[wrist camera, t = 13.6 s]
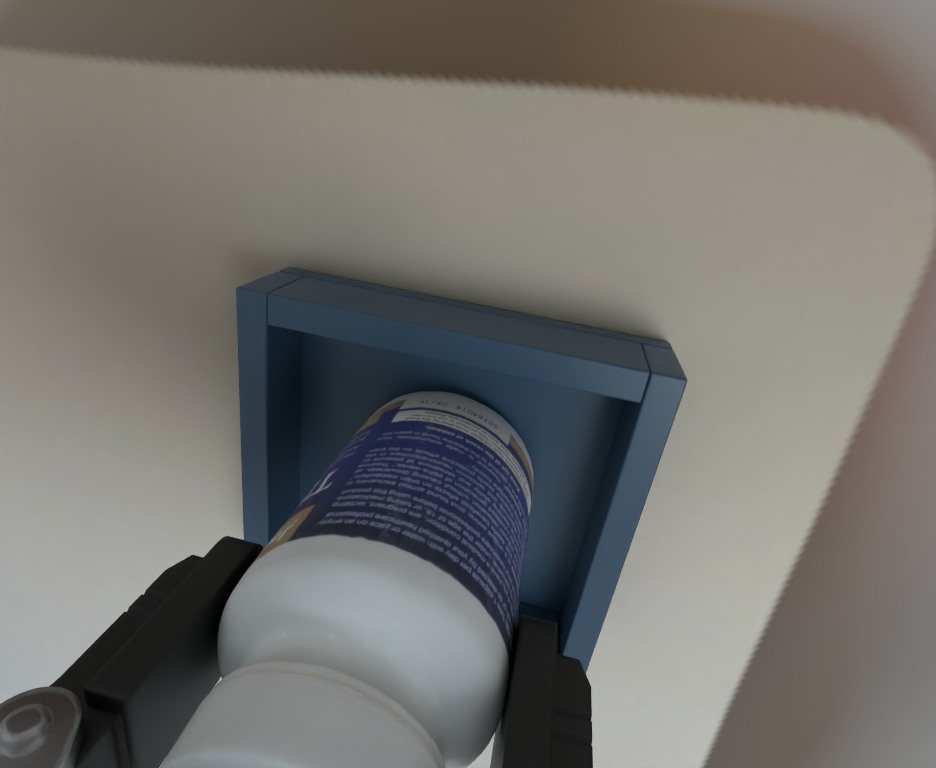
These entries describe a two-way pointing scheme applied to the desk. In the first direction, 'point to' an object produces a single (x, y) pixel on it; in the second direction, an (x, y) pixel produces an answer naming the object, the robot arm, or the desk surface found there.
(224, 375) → the desk surface
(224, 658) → the pill bottle
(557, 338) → the tray
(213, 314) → the desk surface
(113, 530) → the desk surface
